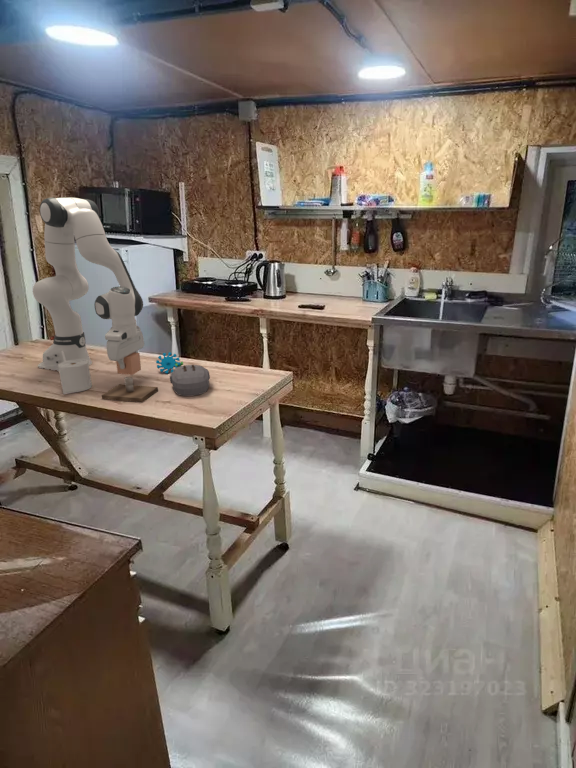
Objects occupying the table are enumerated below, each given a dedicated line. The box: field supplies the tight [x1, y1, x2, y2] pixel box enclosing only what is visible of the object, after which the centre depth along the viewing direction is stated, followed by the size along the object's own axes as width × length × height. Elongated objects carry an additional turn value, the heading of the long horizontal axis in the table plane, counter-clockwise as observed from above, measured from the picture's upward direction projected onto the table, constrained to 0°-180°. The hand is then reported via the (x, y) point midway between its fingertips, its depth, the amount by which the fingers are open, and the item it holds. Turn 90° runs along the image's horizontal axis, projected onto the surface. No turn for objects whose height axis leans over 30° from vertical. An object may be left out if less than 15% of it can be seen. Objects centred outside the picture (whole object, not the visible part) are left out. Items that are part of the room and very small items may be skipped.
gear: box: [155, 351, 184, 375], centre depth 208 cm, size 11×6×10 cm
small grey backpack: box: [169, 364, 211, 397], centre depth 187 cm, size 15×8×20 cm
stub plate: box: [101, 376, 159, 403], centre depth 181 cm, size 16×12×6 cm
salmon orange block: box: [115, 352, 142, 376], centre depth 192 cm, size 6×6×7 cm
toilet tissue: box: [58, 359, 93, 395], centre depth 188 cm, size 11×12×10 cm
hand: (128, 365), depth 192 cm, fingers closed on salmon orange block, 6 cm apart
